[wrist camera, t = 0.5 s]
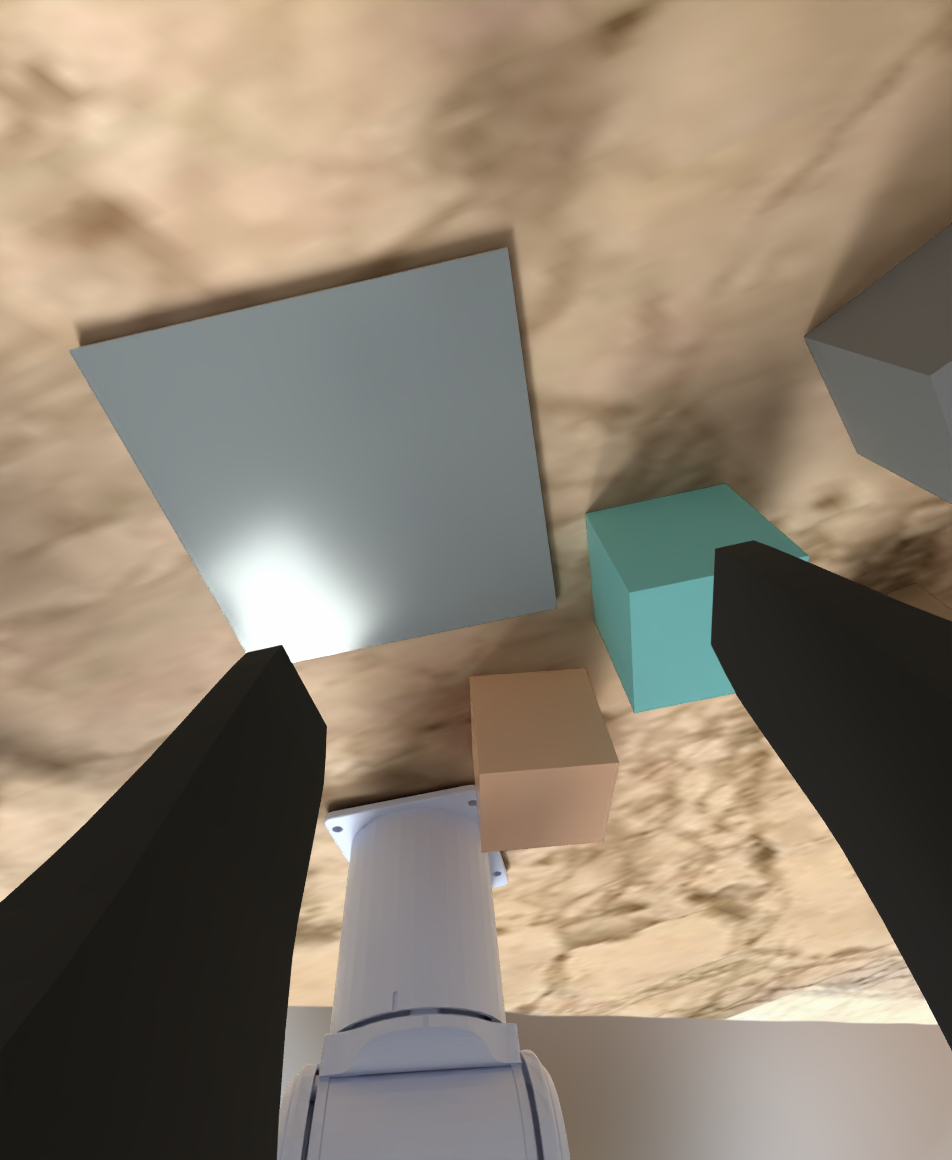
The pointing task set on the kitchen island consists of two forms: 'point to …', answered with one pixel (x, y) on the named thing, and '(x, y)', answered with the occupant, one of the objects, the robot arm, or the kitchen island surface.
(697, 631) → the teal block
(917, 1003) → the kitchen island surface
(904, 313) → the charcoal block
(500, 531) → the slate coaster
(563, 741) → the terracotta block
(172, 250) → the kitchen island surface
